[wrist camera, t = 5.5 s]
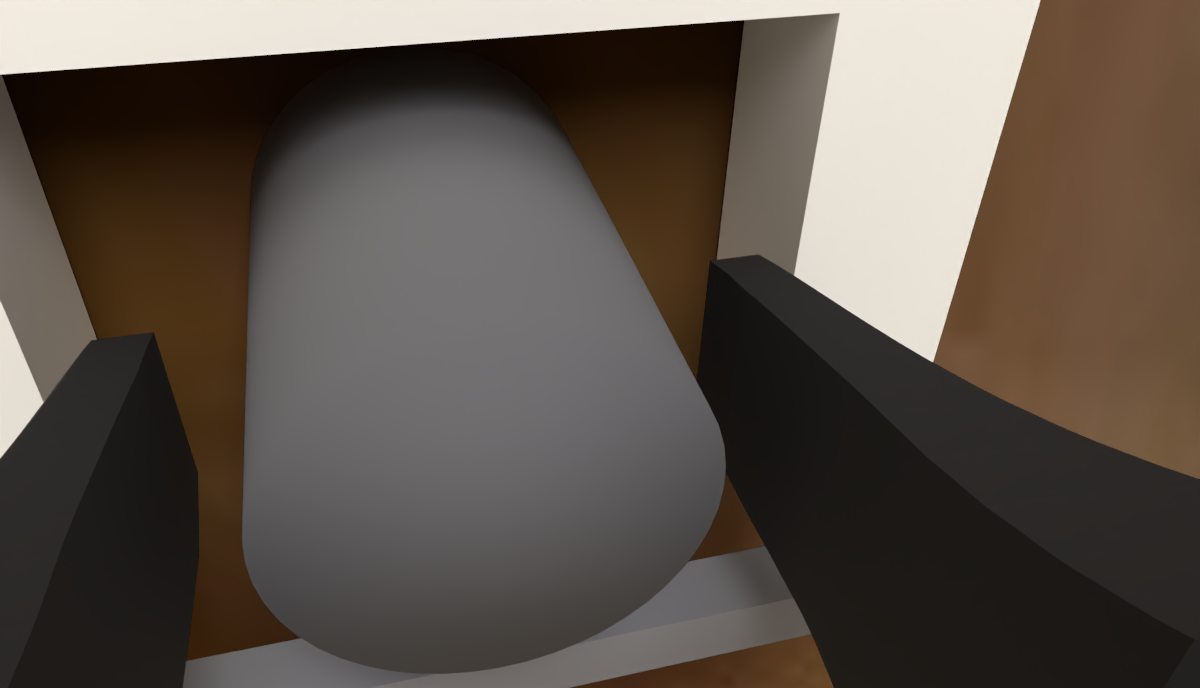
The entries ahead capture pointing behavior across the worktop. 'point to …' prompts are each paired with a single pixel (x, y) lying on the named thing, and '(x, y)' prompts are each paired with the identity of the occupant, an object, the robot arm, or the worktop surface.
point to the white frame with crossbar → (748, 227)
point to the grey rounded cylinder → (455, 379)
